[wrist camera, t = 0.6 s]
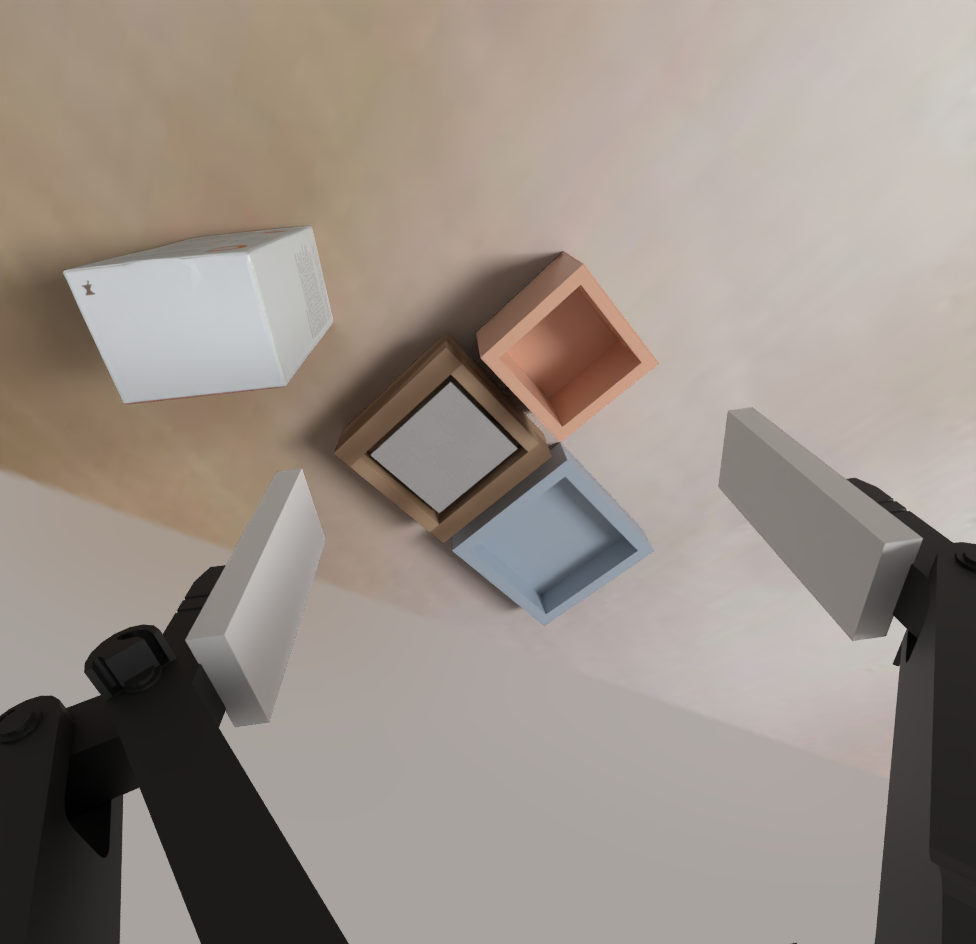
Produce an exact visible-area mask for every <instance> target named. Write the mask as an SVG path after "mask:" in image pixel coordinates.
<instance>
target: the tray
mask: <svg viewBox="0 0 976 944" xmlns="http://www.w3.org/2000/svg"><path fill="white" fill-rule="evenodd" d="M550 453H551V456H552V457H551V458H550V459H549V460H547V461H546V462H545V463H544V464H542V465H541V466H540V467H539V468H537V469H536V470H535V471H533V472H532V473H531V474H530V475H528V476H527V477H526V478H525V479H523V480H522V481H521V482H520V483H518V484H517V485H516V486H515V487H513V488H512V489H511V490H510V491H508V492H507V493H506V494H505V495H503V496H502V497H501V498H500V499H498V500H497V501H496V502H495V503H493V504H492V505H491V506H490V507H488V508H487V509H486V510H485V511H483V512H482V513H481V514H480V515H478V516H477V517H476V518H475V519H473V520H472V521H471V522H470V523H468V524H467V525H466V526H465V527H463V528H462V529H461V530H460V531H458V532H457V533H456V534H455V535H453V536H452V551H453V552H454V553H455V554H457V555H458V556H459V557H460V558H462V559H463V560H464V561H465V562H466V563H468V564H469V565H470V566H471V567H473V568H474V569H475V570H476V571H477V572H479V573H480V574H481V575H482V576H484V577H485V578H486V579H487V580H488V581H490V582H491V583H492V584H493V585H495V586H496V587H497V588H498V589H499V590H501V591H502V592H503V593H504V594H506V595H507V596H508V597H509V598H511V599H512V600H513V601H514V602H515V603H517V604H518V605H519V606H520V607H522V608H523V609H524V610H525V611H526V612H528V613H529V614H530V615H531V616H533V617H534V618H535V619H536V620H537V621H539V622H540V623H541V624H542V625H544V626H545V625H547V624H548V623H550V622H551V621H553V620H554V619H555V618H557V617H558V616H560V615H561V614H563V613H564V612H566V611H567V610H569V609H570V608H572V607H573V606H574V605H576V604H577V603H579V602H580V601H582V600H583V599H585V598H586V597H588V596H589V595H590V594H592V593H593V592H595V591H596V590H598V589H599V588H601V587H602V586H604V585H605V584H607V583H608V582H609V581H611V580H612V579H614V578H615V577H617V576H618V575H620V574H621V573H623V572H624V571H626V570H627V569H628V568H630V567H631V566H633V565H634V564H636V563H637V562H639V561H640V560H642V559H643V558H645V557H646V556H647V555H649V554H650V553H652V552H653V551H654V549H653V547H652V546H651V544H650V542H649V540H648V538H647V537H646V535H645V533H644V531H643V529H642V528H641V527H640V526H639V525H638V524H637V523H636V522H635V521H634V520H633V519H632V518H631V517H630V516H629V515H628V514H627V513H626V511H625V510H624V509H623V508H622V507H621V506H620V505H619V504H618V503H617V502H616V501H615V500H614V499H613V498H612V497H611V496H610V495H609V493H608V492H607V491H606V490H605V489H604V488H603V487H602V486H601V485H600V484H599V483H598V482H597V481H596V480H595V479H594V478H593V477H592V475H591V474H590V473H589V472H588V471H587V470H586V469H585V468H584V467H583V466H582V465H581V464H580V463H579V462H578V461H577V460H576V459H575V458H574V456H573V455H572V454H571V453H570V452H569V451H568V450H567V449H566V448H565V447H564V446H563V445H562V444H561V443H560V442H559V443H558V444H557V445H555V446H554V447H553V448H552V449H550Z"/></svg>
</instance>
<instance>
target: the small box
mask: <svg viewBox="0 0 976 944" xmlns="http://www.w3.org/2000/svg"><path fill="white" fill-rule="evenodd" d="M63 275H64V276H65V278H66V280H67V282H68V284H69V287H70V289H71V291H72V293H73V295H74V298H75V300H76V302H77V305H78V307H79V309H80V311H81V313H82V316H83V318H84V320H85V322H86V324H87V326H88V328H89V331H90V333H91V335H92V337H93V339H94V341H95V344H96V346H97V348H98V350H99V352H100V354H101V356H102V359H103V360H104V362H105V365H106V367H107V369H108V371H109V373H110V376H111V378H112V380H113V382H114V384H115V386H116V388H117V390H118V392H119V394H120V397H121V399H122V401H123V403H124V404H136V403H145V402H154V401H163V400H171V399H181V398H190V397H198V396H208V395H217V394H227V393H235V392H244V391H253V390H261V389H270V388H279V387H285V386H286V385H287V384H288V382H289V381H290V380H291V378H292V377H293V376H294V374H295V373H296V372H297V370H298V369H299V368H300V366H301V365H302V363H303V362H304V361H305V360H306V358H307V357H308V356H309V354H310V353H311V352H312V350H313V349H314V348H315V346H316V345H317V344H318V342H319V341H320V340H321V338H322V337H323V336H324V334H325V333H326V332H327V330H328V329H329V328H330V326H331V325H332V324H333V317H332V313H331V308H330V304H329V299H328V295H327V291H326V286H325V282H324V278H323V273H322V269H321V265H320V260H319V256H318V251H317V247H316V243H315V238H314V234H313V230H312V227H311V226H299V227H288V228H278V229H269V230H259V231H250V232H241V233H231V234H222V235H213V236H205V237H197V238H191V239H187V240H183V241H180V242H176V243H172V244H169V245H165V246H162V247H158V248H154V249H149V250H145V251H141V252H136V253H132V254H127V255H123V256H119V257H115V258H111V259H107V260H103V261H99V262H95V263H91V264H86V265H82V266H78V267H74V268H71V269H67V270H64V271H63Z"/></svg>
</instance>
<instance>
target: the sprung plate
mask: <svg viewBox="0 0 976 944" xmlns="http://www.w3.org/2000/svg"><path fill="white" fill-rule="evenodd" d="M517 449H518V448H517V444H516V441H515V440H514V439H513V438H512V437H511V436H510V435H509V434H508V433H507V432H506V431H505V430H504V429H503V428H502V427H501V426H500V425H499V424H498V423H497V422H496V421H495V420H494V419H493V418H492V417H491V416H490V415H489V414H488V413H487V412H486V411H485V410H484V409H483V408H482V407H481V406H480V405H479V404H478V403H477V402H476V401H475V400H474V399H473V398H472V397H471V396H470V395H469V394H468V393H467V392H466V391H465V390H464V389H463V388H462V387H461V386H460V385H459V384H458V383H457V382H456V381H455V380H454V379H453V378H452V377H451V376H450V377H449V378H448V379H447V380H446V381H445V382H444V383H443V384H441V385H440V386H439V387H438V388H437V389H436V390H435V391H434V392H433V393H432V394H431V395H429V396H428V397H427V398H426V399H425V400H424V401H423V402H422V403H421V404H420V405H419V406H417V407H416V408H415V409H414V410H413V411H412V412H411V413H410V414H409V415H408V416H407V417H405V418H404V419H403V420H402V421H401V422H400V423H399V424H398V425H397V426H396V427H395V428H393V429H392V430H391V431H390V432H389V433H388V434H387V435H386V436H385V437H384V438H383V439H381V440H380V441H379V442H378V443H377V444H376V445H375V446H374V447H373V448H372V451H371V456H372V457H373V458H374V459H376V460H377V461H378V462H379V463H380V464H381V465H383V466H384V467H385V468H386V469H387V470H389V471H390V472H391V473H392V474H393V475H394V476H396V477H397V478H398V479H399V480H400V481H402V482H403V483H404V484H405V485H406V486H408V487H409V488H410V489H411V490H412V491H413V492H415V493H416V494H417V495H418V496H419V497H421V498H422V499H423V500H424V501H425V502H426V503H428V504H429V505H430V506H431V507H432V508H434V509H435V510H436V511H437V512H438V513H440V512H441V511H443V510H444V509H445V508H446V507H447V506H449V505H450V504H451V503H452V502H454V501H455V500H456V499H457V498H458V497H460V496H461V495H462V494H463V493H464V492H466V491H467V490H468V489H469V488H471V487H472V486H473V485H474V484H475V483H477V482H478V481H479V480H480V479H481V478H483V477H484V476H485V475H486V474H488V473H489V472H490V471H491V470H492V469H494V468H495V467H496V466H497V465H499V464H500V463H501V462H502V461H503V460H505V459H506V458H507V457H508V456H509V455H511V454H512V453H513V452H514V451H516V450H517Z"/></svg>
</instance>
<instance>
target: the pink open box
mask: <svg viewBox="0 0 976 944" xmlns="http://www.w3.org/2000/svg"><path fill="white" fill-rule="evenodd" d="M476 336H477V342H478V347H479V353H480V358H481V359H482V360H483V361H484V362H485V363H486V364H487V365H488V366H489V367H490V368H491V370H492V371H493V372H494V373H495V374H496V375H497V376H498V377H499V378H500V379H501V380H502V381H503V382H504V383H505V384H506V385H507V386H508V387H509V389H510V390H511V391H512V392H513V393H514V394H515V395H516V396H517V397H518V398H519V399H520V400H521V401H522V402H523V403H524V404H525V405H526V407H527V408H528V409H529V410H530V411H531V412H532V413H533V414H534V415H535V416H536V417H537V418H538V419H539V420H540V421H541V422H542V423H543V425H544V426H545V427H546V428H547V429H548V430H549V431H550V432H551V433H552V434H553V435H554V436H555V437H556V438H557V439H558V440H559V441H560V442H562V441H563V440H564V439H565V438H567V437H568V436H569V435H570V434H572V433H573V432H574V431H575V430H577V429H578V428H579V427H580V426H582V425H583V424H584V423H585V422H587V421H588V420H589V419H590V418H592V417H593V416H594V415H595V414H597V413H598V412H599V411H600V410H602V409H603V408H604V407H605V406H606V405H608V404H609V403H610V402H611V401H613V400H614V399H615V398H616V397H618V396H619V395H620V394H621V393H623V392H624V391H625V390H626V389H628V388H629V387H630V386H631V385H633V384H634V383H635V382H636V381H638V380H639V379H640V378H641V377H643V376H644V375H645V374H646V373H648V372H649V371H650V370H651V369H653V368H654V367H655V366H656V365H658V364H659V362H658V361H657V360H656V358H655V357H654V356H653V355H652V353H651V352H650V351H649V349H648V348H647V347H646V345H645V344H644V343H643V341H642V340H641V339H640V337H639V336H638V335H637V334H636V332H635V331H634V330H633V328H632V327H631V326H630V324H629V323H628V322H627V320H626V319H625V318H624V316H623V315H622V314H621V312H620V311H619V310H618V309H617V307H616V306H615V305H614V303H613V302H612V301H611V299H610V298H609V297H608V295H607V294H606V293H605V291H604V290H603V289H602V288H601V286H600V285H599V284H598V282H597V281H596V280H595V278H594V277H593V276H592V274H591V273H590V272H589V270H588V269H587V268H586V266H585V265H584V264H583V263H581V262H580V261H578V260H577V259H575V258H573V257H572V256H570V255H569V254H567V253H565V252H564V251H563V252H562V253H561V254H560V255H559V256H558V257H557V258H556V259H555V260H554V261H553V262H552V263H550V264H549V265H548V266H547V267H546V268H545V269H544V270H543V271H542V272H541V273H540V274H539V275H538V276H536V277H535V278H534V279H533V280H532V281H531V282H530V283H529V284H528V285H527V286H526V287H525V288H524V289H523V290H521V291H520V292H519V293H518V294H517V295H516V296H515V297H514V298H513V299H512V300H511V301H510V302H509V303H508V304H506V305H505V306H504V307H503V308H502V309H501V310H500V311H499V312H498V313H497V314H496V315H495V316H494V317H492V318H491V319H490V320H489V321H488V322H487V323H486V324H485V325H484V326H483V327H482V328H481V329H480V330H479V331H477V332H476Z"/></svg>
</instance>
